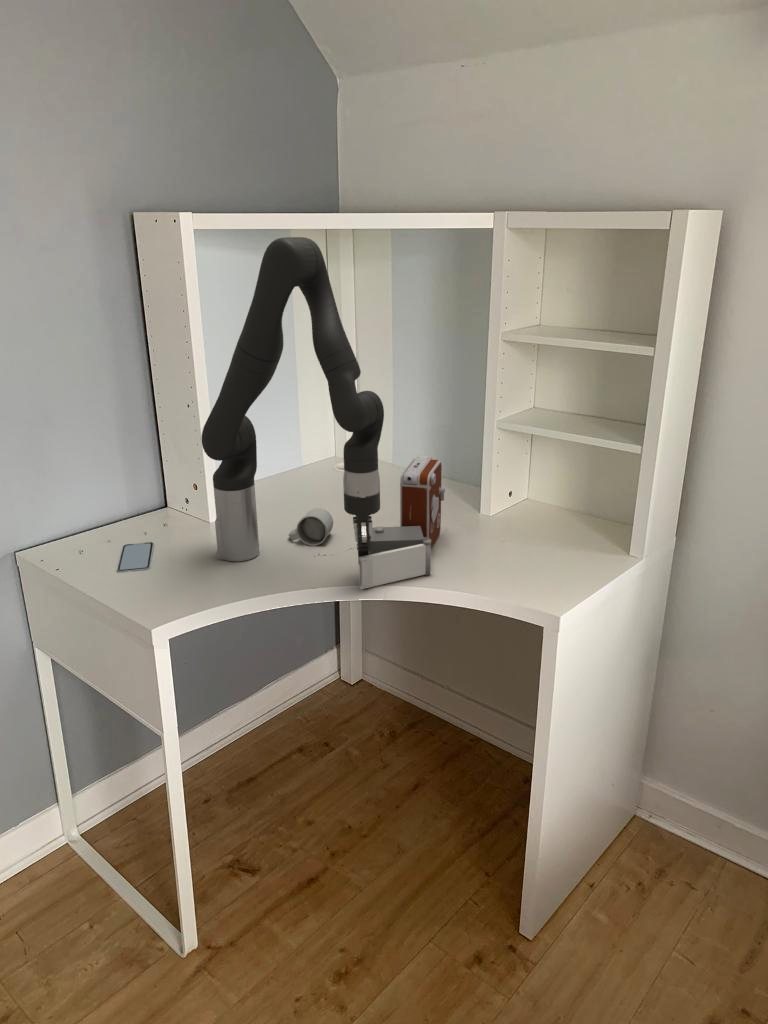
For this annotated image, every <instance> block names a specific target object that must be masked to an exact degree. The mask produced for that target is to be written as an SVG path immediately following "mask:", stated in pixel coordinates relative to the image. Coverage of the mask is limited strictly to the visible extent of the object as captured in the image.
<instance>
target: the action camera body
mask: <svg viewBox="0 0 768 1024" xmlns="http://www.w3.org/2000/svg"><path fill="white" fill-rule="evenodd" d="M418 544H431V539H430V538H429V537H423V533H422V530H421V526H403V527H400V526H376V527H374V526H373V527H372V530H371V541H370V551H369V555H371V554H376V553H381V552H385V551H390V550H395V549H399V548H404V547H409V546H414V545H418Z"/></svg>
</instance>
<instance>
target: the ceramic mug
mask: <svg viewBox="0 0 768 1024" xmlns="http://www.w3.org/2000/svg"><path fill="white" fill-rule="evenodd" d="M332 516H333V515H331V513H330V511H329V510H326V509H324V508H321V507H320V508H313V509H311V510H309V511H308V512H307V513H306V514H305V515H304V516H302V518H301V519H300V520H299V521H298V522H297V525H296V528H295V529H292V530H291V531H290V532H289V533H288V536H289V538H290V540H293V541H295V540H297V539H299V540H300V541H301V542H302V543H304V544H305V545H308V546H310V547H311V546H313V547H314V546H318V545H319V546H320V545H321V544H323V543H324V542H325V541H326V539H327V538H328V536H329V534H330V533H331V532H332V530H333V526H334V519H333V517H332Z"/></svg>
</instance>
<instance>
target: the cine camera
mask: <svg viewBox="0 0 768 1024" xmlns="http://www.w3.org/2000/svg"><path fill="white" fill-rule="evenodd" d="M442 469H443V468H442V461H441V460H439V459H433V457H432V456H425V455H417V456H416V458H414V459H412V460H411V461H410V463H409V464H408V465H407V466H406V468H405V469H404V470H403V471H402V473H401V475H400V483H399V486H400V487H399V490H400V491H399V492H400V493H399V496H400V499H399V502H400V503H399V507H400V509H399V510H400V511H399V512H400V514H399V515H400V516H399V517H400V518H399V521H400V522H399V523H400V525H399V527H403V526H421V530H422V533H423V537H429V538H430V539H431V550H432V548H433V547H434V545H435V543H436V541H437V539H438V538H439V536H440V533H441V529H442V528H441V527H442V526H441V524H442V522H441V521H442V516H441V515H442V502H443V501H445V492H446V488H445V487H442Z"/></svg>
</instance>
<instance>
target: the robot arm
mask: <svg viewBox="0 0 768 1024" xmlns="http://www.w3.org/2000/svg"><path fill="white" fill-rule="evenodd" d="M262 256H263V257H262V260H261V262H260V266H259V267H260V268H259V270H258V271H259V272H258V276H257V281H256V284H255V289H254V292H253V296H252V300H251V302H250V303H251V304H250V306H249V309H248V312H247V315H246V319H245V321H244V324H243V327H242V330H241V333H240V335H239V338H238V340H237V342H236V346H235V349H234V351H233V354H232V358H231V361H230V364H229V367H228V369H227V372H226V375H225V377H224V379H223V383H222V386H221V389H220V391H219V394H218V397H217V399H216V401H215V403H214V406H213V408H212V409H211V411H210V412H209V415H208V417H207V419H206V421H205V423H204V425H203V428H202V432H201V446H202V449H203V451H204V453H205V454H206V455H207V457H209V458H210V459H211V460H213V461H214V460H215V461H218V462H219V461H221V462H220V465H218V467H217V469H216V470H215V471H214V472H213V475H212V485H213V496H214V504H215V505H214V507H215V517H216V518H215V521H214V527H215V528H214V529H215V538H216V547H217V558H218V560H224V561H228V562H245V561H248V560H252V559H254V558H256V557H258V555H259V554H260V540H259V527H258V525H259V524H258V513H257V498H256V488H255V487H256V486H255V484H256V483H255V476H256V473H257V468H258V460H257V458H258V456H257V448H258V447H257V435H256V434H257V433H256V430H255V427H254V425H253V423H252V421H251V419H250V418H249V417H248V416H247V415H246V414H247V412H248V410H249V409H250V408H251V406H252V405H253V404H254V403H255V402H256V400H257V399H258V398H259V397H260V395H261V394H262V393H263V391H264V390H265V389H266V387H267V386H268V384H269V383H270V382H271V381H272V378H273V377H274V374H275V372H276V370H277V367H278V364H279V362H280V360H281V357H282V354H283V350H284V331H283V316H284V311H285V308H286V306H287V304H288V301H289V299H290V296H291V294H292V292H293V290H294V289H295V287H298V288H299V289H300V291H301V293H302V295H303V297H304V299H305V301H306V303H307V306H308V309H309V312H310V320H311V333H312V334H311V335H312V336H311V337H312V343H313V349H314V352H315V356H316V358H317V361H318V363H319V366H320V368H321V369H322V372H323V374H324V377H325V378H326V381H327V385H328V386H327V387H328V394H329V398H330V404H331V405H330V406H331V409H332V410H331V411H332V415H333V417H334V419H335V420H336V422H337V424H338V425H339V427H340V428H342V429H343V430H344V431H346V432H349V433H352V434H351V436H350V438H349V439H348V440H346V442H345V443H344V446H343V477H342V478H343V479H342V481H343V483H342V485H343V486H342V487H343V506H344V507H343V508H344V509H343V510H344V511H345V512H346V513H347V514H349V515H352V524H353V530H354V541H355V542H356V550H357V554H358V555H357V556H358V557H357V558H358V563H359V557H362V556H366V555H369V551H370V541H371V530H372V528H373V520H372V519H373V518H372V515H374V514H377V513H379V511H380V510H381V484H380V483H381V481H380V473H379V450H378V449H379V448H378V447H379V444H380V441H381V435H382V431H383V426H384V420H385V419H384V418H385V409H384V408H385V407H384V403H383V401H382V399H381V398H380V396H379V395H378V394H377V393H376V392H374V391H371V390H362V391H360V392H358V391H357V387H356V380H358V379H359V378H360V376H361V373H362V372H361V371H362V370H361V367H360V364H359V362H358V361H357V358H356V355H355V353H354V350H353V348H352V346H351V344H350V342H349V339H348V337H347V334H346V331H345V329H344V326H343V323H342V320H341V317H340V314H339V311H338V307H337V303H336V299H335V295H334V291H333V287H332V284H331V281H330V277H329V273H328V268H327V265H326V261H325V259H324V255H323V253H322V251H321V248H320V246H319V245H318V244H317V243H316V242H315V241H314V240H312V239H311V238H309V237H303V236H287V237H280V238H276V239H274V240H272V241H271V242H270V243H269V244H268V246H267V247H266V249H265V251H264V252H263V255H262Z"/></svg>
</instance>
